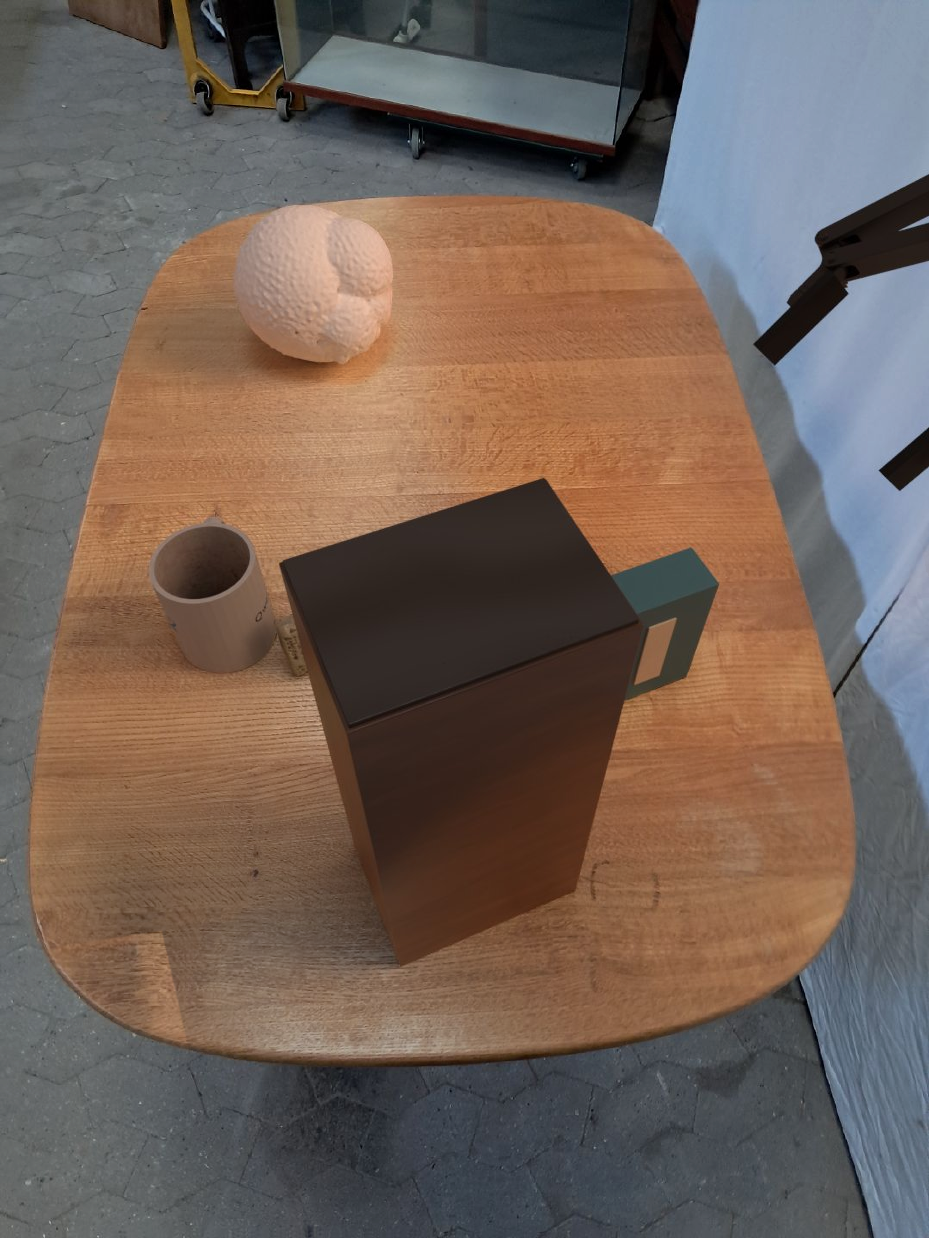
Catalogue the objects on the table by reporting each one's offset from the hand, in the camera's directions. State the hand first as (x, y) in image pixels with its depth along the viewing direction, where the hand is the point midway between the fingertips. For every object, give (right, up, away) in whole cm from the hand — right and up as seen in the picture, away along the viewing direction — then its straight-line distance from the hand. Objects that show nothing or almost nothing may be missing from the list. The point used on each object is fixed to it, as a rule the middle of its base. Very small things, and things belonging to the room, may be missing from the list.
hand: (822, 414), depth 60 cm
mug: (-45, -14, +23) cm, 52 cm away
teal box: (-9, -19, +18) cm, 28 cm away
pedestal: (-24, -32, +8) cm, 41 cm away
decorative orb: (-40, +19, +46) cm, 64 cm away
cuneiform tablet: (-33, -17, +20) cm, 42 cm away
